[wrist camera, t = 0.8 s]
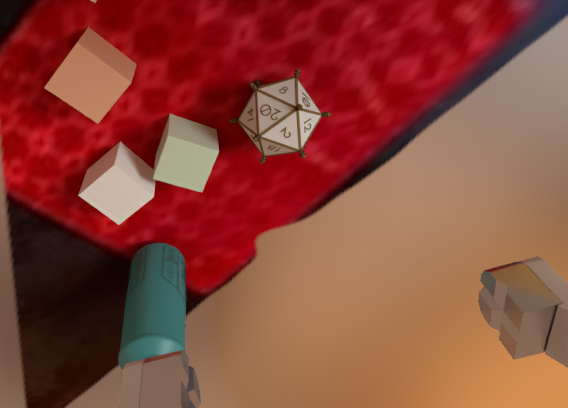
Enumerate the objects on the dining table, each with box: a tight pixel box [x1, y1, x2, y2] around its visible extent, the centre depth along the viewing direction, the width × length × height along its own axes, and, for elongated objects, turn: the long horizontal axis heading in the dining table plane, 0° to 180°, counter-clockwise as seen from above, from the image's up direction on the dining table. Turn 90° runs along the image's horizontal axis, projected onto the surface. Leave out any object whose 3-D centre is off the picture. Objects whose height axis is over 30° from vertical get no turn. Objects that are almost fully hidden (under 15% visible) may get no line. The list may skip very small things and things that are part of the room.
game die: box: [229, 68, 331, 164], centre depth 44 cm, size 9×8×10 cm
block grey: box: [78, 141, 156, 225], centre depth 47 cm, size 5×5×5 cm
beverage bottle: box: [118, 243, 187, 370], centre depth 48 cm, size 6×7×20 cm
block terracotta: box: [44, 27, 137, 123], centre depth 41 cm, size 5×5×5 cm
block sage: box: [153, 114, 219, 192], centre depth 47 cm, size 5×5×5 cm
